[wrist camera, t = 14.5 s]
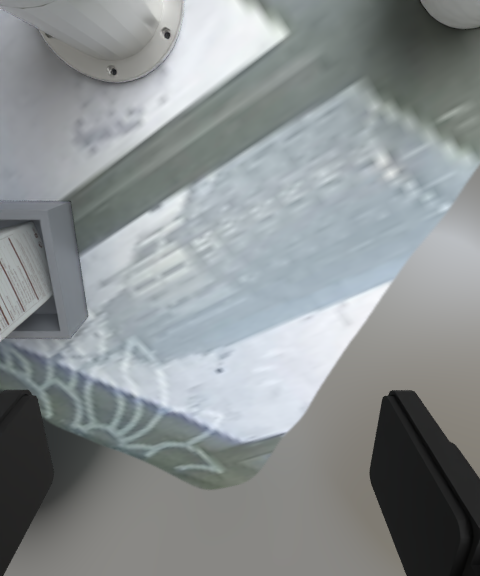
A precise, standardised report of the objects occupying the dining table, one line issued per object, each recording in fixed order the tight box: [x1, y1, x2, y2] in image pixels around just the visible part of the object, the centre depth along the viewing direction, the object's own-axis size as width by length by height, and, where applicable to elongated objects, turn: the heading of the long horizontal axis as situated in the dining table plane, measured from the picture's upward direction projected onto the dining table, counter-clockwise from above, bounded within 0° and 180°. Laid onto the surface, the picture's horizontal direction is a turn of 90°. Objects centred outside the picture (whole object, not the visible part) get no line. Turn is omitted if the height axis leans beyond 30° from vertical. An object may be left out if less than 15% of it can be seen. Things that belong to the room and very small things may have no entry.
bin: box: [0, 201, 88, 339], centre depth 38 cm, size 13×13×5 cm
